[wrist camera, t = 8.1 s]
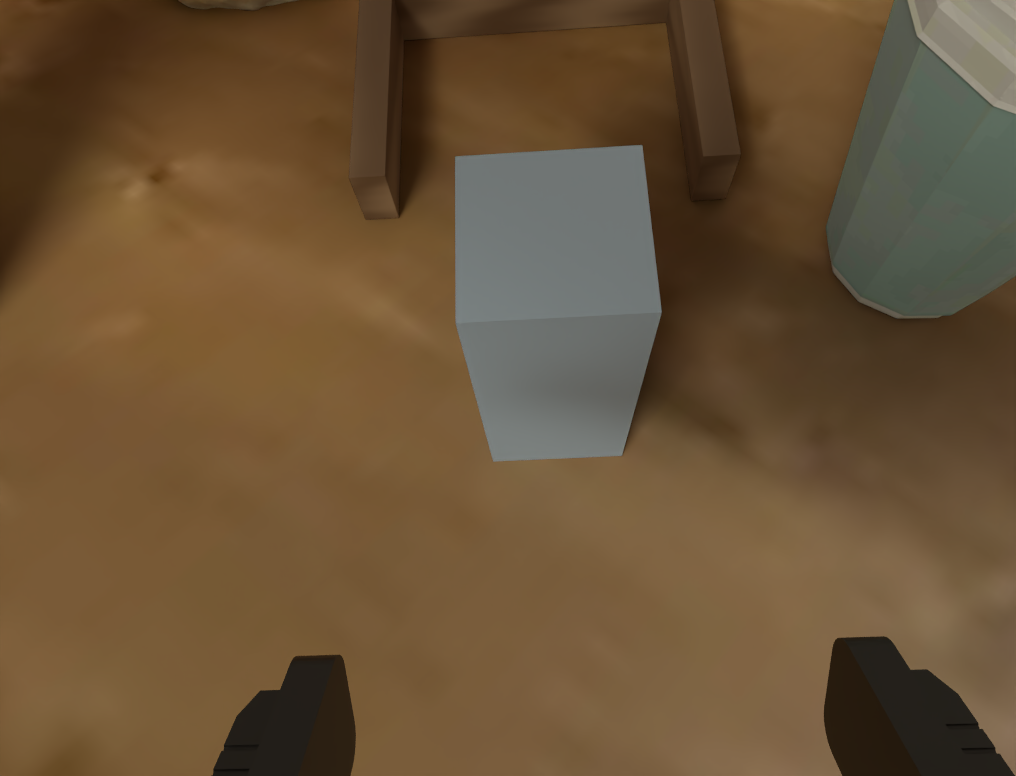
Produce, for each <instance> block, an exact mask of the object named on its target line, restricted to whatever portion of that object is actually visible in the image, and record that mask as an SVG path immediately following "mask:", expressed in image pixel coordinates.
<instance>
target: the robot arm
mask: <svg viewBox="0 0 1016 776" xmlns="http://www.w3.org/2000/svg"><path fill="white" fill-rule="evenodd" d="M824 723H825V730H826V735H827V739H828V743H829V746H830V749H831V751H832V754H833V756H834V758H835V760H836V763H837V765H838V767H839V769H840V771H841V774H842V776H1015V775H1014V774H1013V772H1012V771H1011V770H1010V768H1009V767H1008V765H1007V764H1006V762H1005V761H1004V759H1003V758H1002V757H1001V755H1000V754H997V753H996V751H995V747H994V745H993V744H992V742H991V741H990V739H989V738H988V736H987V735H986V734H985V732H984V731H983V729H979V726H978V722H977V721H976V719H975V718H974V716H973V715H972V713H971V712H970V711H969V709H968V708H967V706H966V705H965V703H964V702H963V701H962V699H961V698H960V696H959V695H958V694H957V693H956V692H955V691H953V690H952V689H951V688H950V687H948V686H947V685H946V684H945V683H943V682H942V681H941V680H940V679H938V678H937V677H936V676H935V675H933V674H932V673H931V672H930V671H928V670H910V668H909V667H908V665H907V664H906V662H905V661H904V659H903V658H902V656H901V655H900V653H899V651H898V650H897V648H896V647H895V645H894V644H893V642H892V641H891V640H890V639H889V638H887V637H884V636H883V637H851V638H837V639H836V640H835V642H834V644H833V649H832V656H831V663H830V670H829V677H828V684H827V691H826V698H825V705H824ZM355 741H356V733H355V721H354V716H353V710H352V704H351V698H350V693H349V687H348V681H347V676H346V670H345V664H344V660H343V658H342V656H341V655H318V656H296V657H294V658H293V660H292V661H291V663H290V666H289V668H288V671H287V674H286V676H285V679H284V681H283V684H282V686H281V689H280V690H266V691H260V692H259V693H258V694H257V695H256V696H255V697H254V698H253V699H252V700H251V701H250V703H249V704H248V705H247V706H246V707H245V708H244V709H243V710H242V711H241V712H240V713H239V714H238V715H237V717H236V719H235V721H234V724H233V726H232V728H231V731H230V733H229V735H228V737H227V740H226V742H225V744H224V751H221V753H220V756H219V758H218V760H217V762H216V765H215V767H214V769H213V770H214V772H213V776H350V775H351V771H352V767H353V762H354V755H355Z"/></svg>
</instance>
